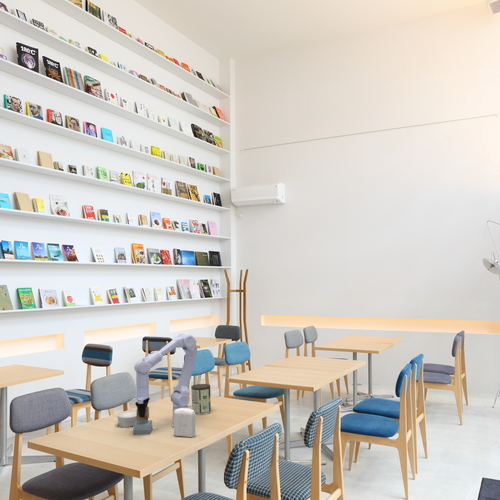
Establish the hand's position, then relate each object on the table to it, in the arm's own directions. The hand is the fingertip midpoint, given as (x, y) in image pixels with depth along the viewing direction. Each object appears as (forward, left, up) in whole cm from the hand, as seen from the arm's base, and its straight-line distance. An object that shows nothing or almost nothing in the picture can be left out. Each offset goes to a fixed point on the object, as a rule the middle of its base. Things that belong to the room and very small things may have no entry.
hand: (142, 415), depth 225 cm
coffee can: (-27, -30, -8) cm, 41 cm away
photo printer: (-20, +9, -8) cm, 23 cm away
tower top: (0, 0, -6) cm, 6 cm away
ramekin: (+9, -14, -8) cm, 18 cm away
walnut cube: (0, 0, -2) cm, 2 cm away
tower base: (0, 0, -8) cm, 8 cm away
